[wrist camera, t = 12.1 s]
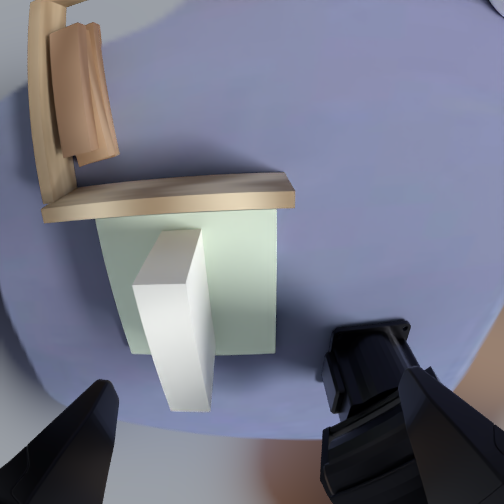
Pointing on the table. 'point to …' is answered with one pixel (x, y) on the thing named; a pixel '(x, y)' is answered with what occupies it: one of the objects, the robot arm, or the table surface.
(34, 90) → the rack
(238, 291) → the mat
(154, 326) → the white block
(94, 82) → the offcut stack
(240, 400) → the table surface
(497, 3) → the drinking glass
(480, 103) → the table surface
